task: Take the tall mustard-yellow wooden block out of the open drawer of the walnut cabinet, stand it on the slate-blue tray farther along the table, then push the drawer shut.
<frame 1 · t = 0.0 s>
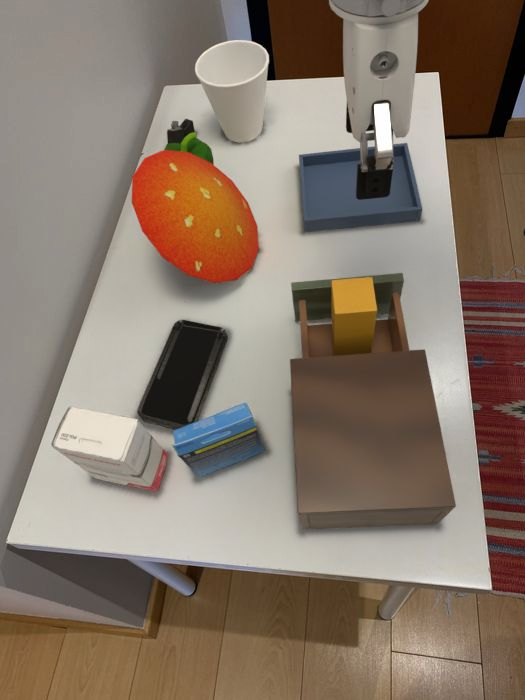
hand: (366, 161, 52), 22 cm above the table, tool pointing down, fingers open, 9 cm apart
cabinet: (360, 453, 60), on the table
ink box: (132, 465, 63), on the table
label tape box: (228, 452, 63), on the table
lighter: (182, 147, 91), on the table
toy strawberry: (211, 251, 78), on the table
drawer: (351, 343, 62), point 5 cm above the table, slide at 10.0 cm, touching block
cup: (243, 130, 91), on the table
block: (350, 348, 65), point 2 cm above the table, touching drawer
phone: (185, 375, 68), on the table
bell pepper: (196, 192, 85), on the table
tray: (356, 192, 80), on the table
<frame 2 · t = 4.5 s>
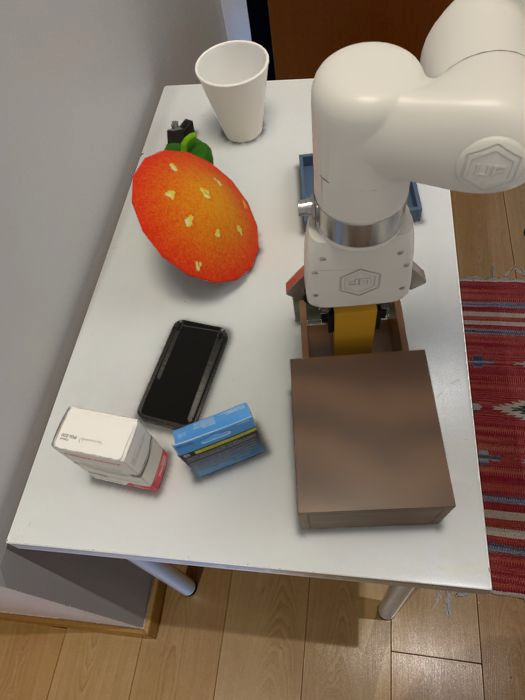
hand: (352, 319, 59), 9 cm above the table, tool pointing down, fingers closed on block, 4 cm apart
block: (350, 348, 65), point 2 cm above the table, touching drawer, gripper
everything else where it was.
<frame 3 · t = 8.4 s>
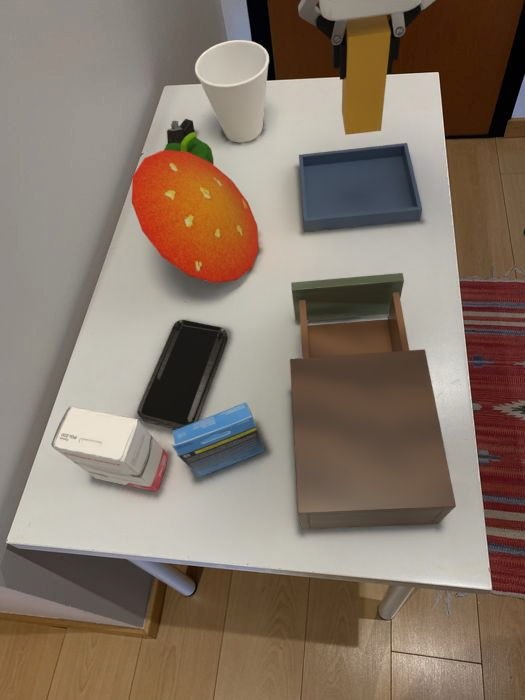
hand: (364, 67, 58), 23 cm above the table, tool pointing down, fingers closed on block, 4 cm apart
drawer: (351, 343, 62), point 5 cm above the table, slide at 10.0 cm
block: (360, 121, 64), point 16 cm above the table, touching gripper
everything else where it was.
when the fingers open (8 cm above the table, at t = 12.5 s): block stays where it is, resting on tray.
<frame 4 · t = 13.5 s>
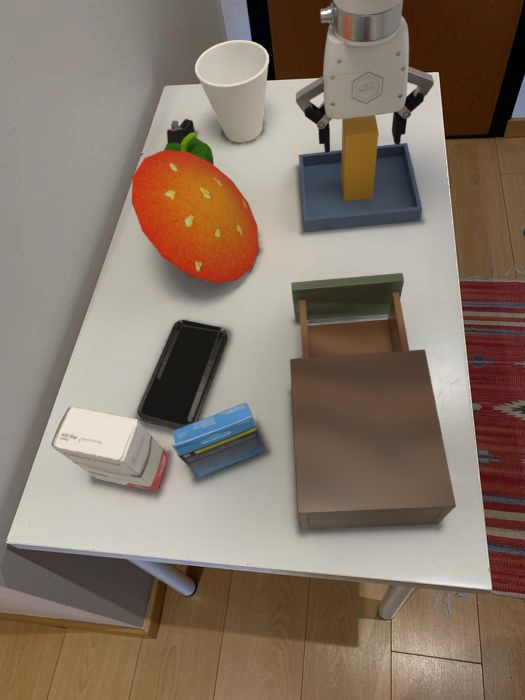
hand: (360, 142, 72), 10 cm above the table, tool pointing down, fingers open, 9 cm apart
block: (356, 190, 80), resting on tray
everything else where it was.
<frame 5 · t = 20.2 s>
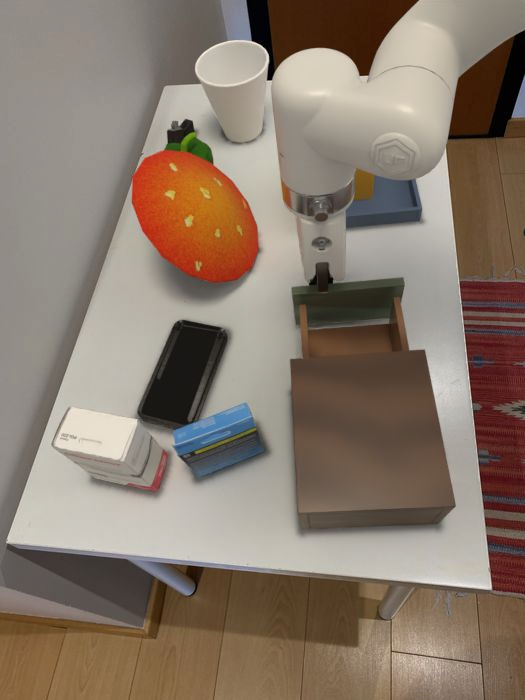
hand: (320, 287, 68), 4 cm above the table, tool pointing down, fingers closed
drawer: (352, 347, 62), point 5 cm above the table, slide at 9.3 cm
everything else where it was.
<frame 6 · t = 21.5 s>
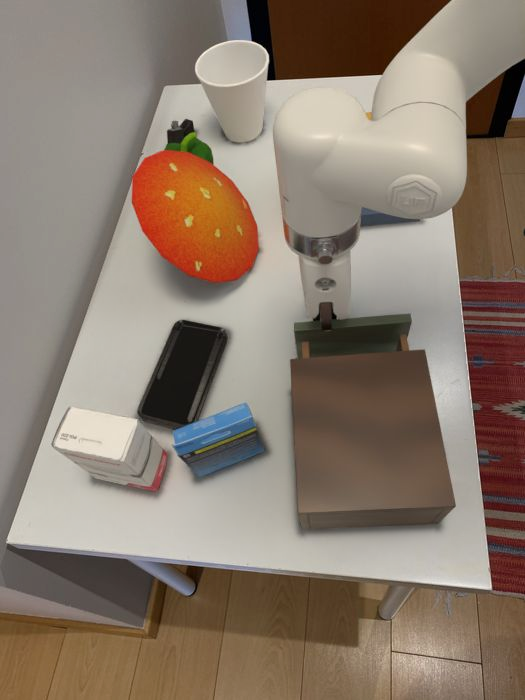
hand: (323, 320, 65), 4 cm above the table, tool pointing down, fingers closed
drawer: (356, 386, 59), point 5 cm above the table, slide at 4.1 cm, touching gripper
everything else where it was.
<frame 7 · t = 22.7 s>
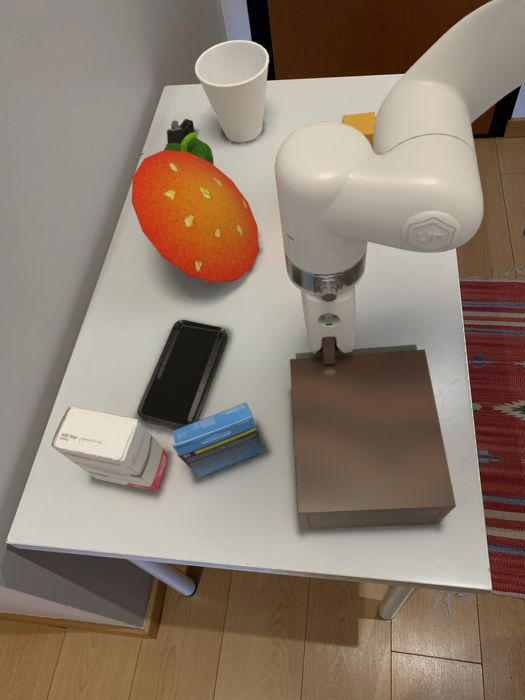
hand: (326, 348, 63), 4 cm above the table, tool pointing down, fingers closed
drawer: (360, 420, 57), point 5 cm above the table, slide at 0.0 cm, touching cabinet, gripper
everything else where it was.
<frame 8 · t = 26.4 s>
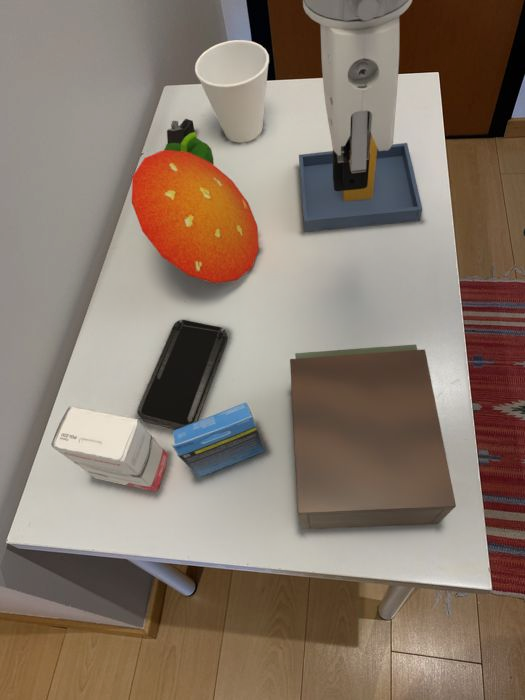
hand: (349, 183, 50), 23 cm above the table, tool pointing down, fingers closed
drawer: (360, 420, 57), point 5 cm above the table, slide at 0.0 cm, touching cabinet
everything else where it was.
at the end: block inside the target area in the tray (0.0 cm from its centre), point 0.5 cm above the tray's base; block tilted 0°; drawer slide at 0.0 cm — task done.
